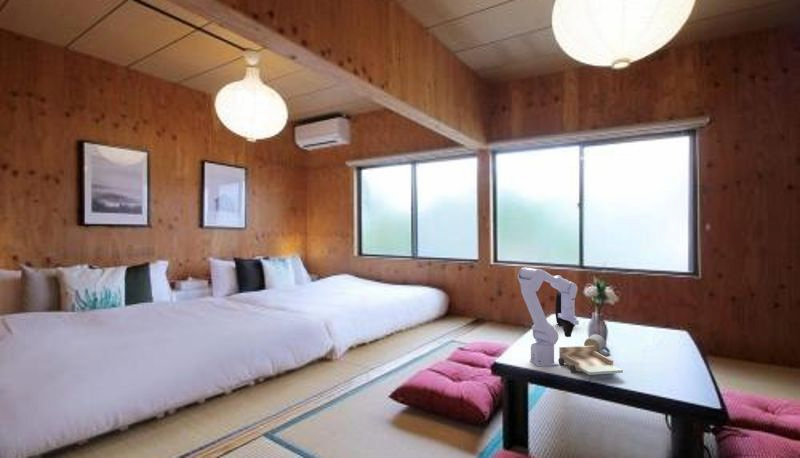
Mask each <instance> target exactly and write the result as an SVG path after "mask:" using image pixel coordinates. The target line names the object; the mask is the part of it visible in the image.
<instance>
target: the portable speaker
mask: <svg viewBox="0 0 800 458" xmlns="http://www.w3.org/2000/svg"><path fill="white" fill-rule="evenodd" d="M554 310H555V320H556V324H557V323H558V324H557V325H560V326H561V323H560V321H563V319H561V318H558V313H561V293H560V292H559V291H558V292H556V295H555V309H554Z"/></svg>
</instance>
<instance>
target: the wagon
mask: <svg viewBox="0 0 800 458" xmlns="http://www.w3.org/2000/svg"><path fill="white" fill-rule="evenodd" d="M558 352H559V354H558V355H559V356H558V357H559V358H558V360H557V361H558V365H559V366H564V365H567V366H568V367H569V372H570V373H571V374H575V373H576V372H583V371H582V370H580V367H590V366H607V365H614V360H612V359H611V358H609V357H607V356H606V355H604V354H602V353H600V352H596V351H594V346H584V345H581V346H579V345H577V346H575V345H574V346H560V347H559V351H558Z"/></svg>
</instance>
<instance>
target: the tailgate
mask: <svg viewBox="0 0 800 458" xmlns="http://www.w3.org/2000/svg"><path fill="white" fill-rule="evenodd" d="M580 370H582V371H581V372H584V373H585V374H587V375H588V376H590V375H591V376H592V375H607V374H623V371H624V370H623V369H621V368H619V367H617V366H616V365H614V364H613V365H607V366H590V367H580Z"/></svg>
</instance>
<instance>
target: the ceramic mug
mask: <svg viewBox="0 0 800 458" xmlns="http://www.w3.org/2000/svg"><path fill="white" fill-rule="evenodd" d="M606 343H607V342H606V340H605V338H604V337H603V336H602V335H600V334H597V333H593V334H591V335H590V336H589V337H588V338H586V339H585V341H584V345H583V346H594V351H596V352H598V353H600V354H602V355H603V356H608V355H610V354H611V350H610V349H609V348H608V347H607V346H606V345H607V344H606Z"/></svg>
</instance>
